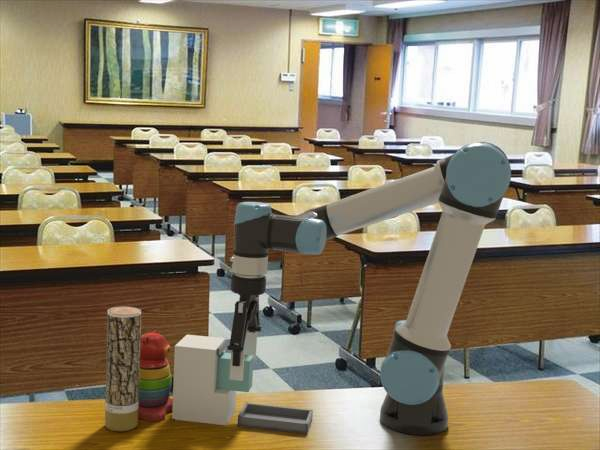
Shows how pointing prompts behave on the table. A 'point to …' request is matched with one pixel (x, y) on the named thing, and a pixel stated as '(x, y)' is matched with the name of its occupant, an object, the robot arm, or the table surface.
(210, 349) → the dispenser
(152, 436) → the table surface
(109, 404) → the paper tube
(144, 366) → the stacking bear
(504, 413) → the table surface
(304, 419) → the tray
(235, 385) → the teal block
